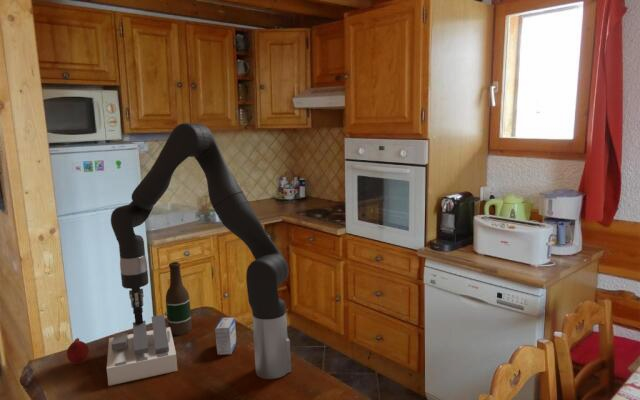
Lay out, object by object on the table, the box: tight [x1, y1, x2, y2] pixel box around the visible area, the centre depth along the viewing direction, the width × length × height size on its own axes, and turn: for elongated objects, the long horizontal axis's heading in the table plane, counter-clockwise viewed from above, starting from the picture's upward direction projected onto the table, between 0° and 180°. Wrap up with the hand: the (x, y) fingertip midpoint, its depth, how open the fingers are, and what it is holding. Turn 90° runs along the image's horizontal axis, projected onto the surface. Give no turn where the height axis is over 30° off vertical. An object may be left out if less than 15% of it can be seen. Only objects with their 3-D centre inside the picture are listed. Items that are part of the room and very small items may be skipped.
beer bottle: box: [165, 261, 193, 336], centre depth 157 cm, size 8×8×24 cm
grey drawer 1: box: [151, 314, 169, 354], centre depth 139 cm, size 4×16×2 cm, turn 22°
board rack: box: [106, 326, 179, 387], centre depth 138 cm, size 18×20×8 cm
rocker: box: [132, 320, 148, 355], centre depth 137 cm, size 4×16×2 cm, turn 22°
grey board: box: [112, 332, 128, 350], centre depth 135 cm, size 4×16×2 cm, turn 22°
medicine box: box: [214, 317, 237, 356], centre depth 144 cm, size 8×4×9 cm, turn 179°
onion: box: [66, 337, 90, 365], centre depth 138 cm, size 6×6×8 cm
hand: (139, 323), depth 143 cm, fingers closed
